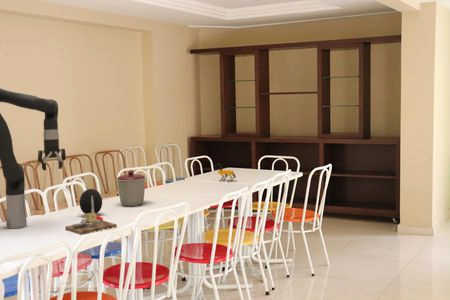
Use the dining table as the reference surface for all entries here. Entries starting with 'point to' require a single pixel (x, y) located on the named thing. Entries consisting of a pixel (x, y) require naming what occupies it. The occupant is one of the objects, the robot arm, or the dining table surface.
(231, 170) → the robot dog
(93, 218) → the coupler
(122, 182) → the canister
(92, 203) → the grey red upright piece
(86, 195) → the decorative egg
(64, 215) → the dining table surface
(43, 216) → the dining table surface
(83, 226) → the shaft rig
